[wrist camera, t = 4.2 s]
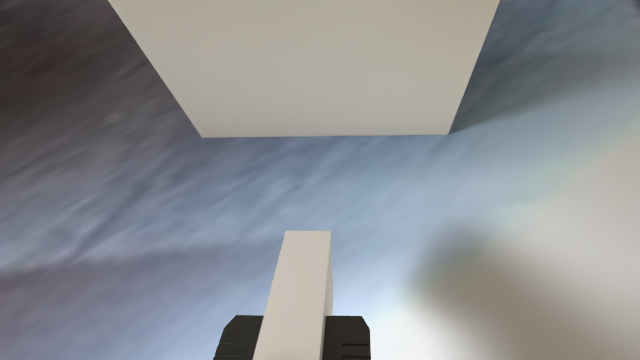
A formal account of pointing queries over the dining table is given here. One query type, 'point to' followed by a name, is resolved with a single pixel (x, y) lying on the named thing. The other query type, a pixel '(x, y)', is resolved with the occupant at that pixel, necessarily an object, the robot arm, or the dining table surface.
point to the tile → (313, 62)
